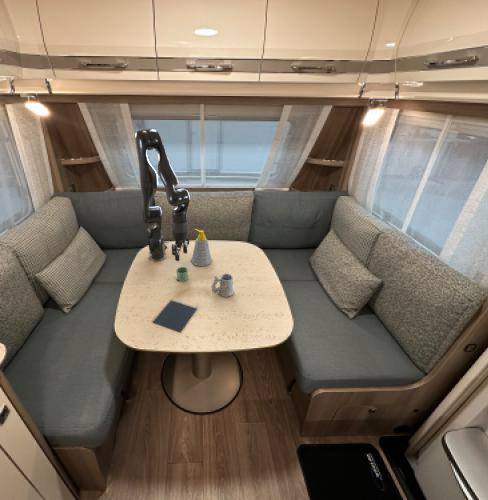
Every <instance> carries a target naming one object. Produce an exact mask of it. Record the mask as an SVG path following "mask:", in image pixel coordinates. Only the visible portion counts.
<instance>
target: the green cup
mask: <svg viewBox="0 0 488 500" xmlns="http://www.w3.org/2000/svg"><path fill="white" fill-rule="evenodd" d="M175 272H176V279H177V280H178V281H179V282H185V281H187V280H188V279H189V269H188V268H187V267H186V266H180V267H179V266H178V267H177V268H176V271H175Z"/></svg>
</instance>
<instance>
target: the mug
mask: <svg viewBox="0 0 488 500" xmlns="http://www.w3.org/2000/svg"><path fill="white" fill-rule="evenodd" d="M218 282H219V286H218V287H217V288H216V285H218ZM211 291H212V293H213V294H214V295H216V293H219V295H220V296H221V297H224V298H228V297H231V296H232V295H233V293H234V276H233V275H232V274H231V273H223V274H221V275H220V277H218V276H217V274H216V275H214V279H213V281H212V284H211Z"/></svg>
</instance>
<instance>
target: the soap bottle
mask: <svg viewBox="0 0 488 500" xmlns="http://www.w3.org/2000/svg"><path fill="white" fill-rule="evenodd" d="M194 231H195V232H198V233H199V234H197V237H196V238H195V242H194V247H193V252H192V257H191V263H192V264H193V265H195V266H196V267H197V266H198V267H206V266H208V265H210V264H211V263H212V255H211V250H210V245H209V241H208V238H207V237H206V234H205V231H204V230H201V229H197V228H194Z"/></svg>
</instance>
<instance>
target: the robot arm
mask: <svg viewBox="0 0 488 500" xmlns="http://www.w3.org/2000/svg"><path fill="white" fill-rule="evenodd" d="M134 143H135V149H136V154H137V155H136V156H137V160H138V169H139V182H140V183H139V184H140V185H139V186H140V192H141V193H140V194H141V209H142V210H141V211H142V212H141V213H142V220H143V222H144V223H145V224H146V225H147V224H148V225H149V224H151V225H149V226H148V227H147V228H146V235H147V241H148V242H147V244H148V255H149V259H150V260H151V261H154V262H160V261H162V260H164V259H165V258H166V249H167V248H168V246H167V245H165V242H167V241H171V239H170V238H167V239H164V231H163V230H164V229H163V212H162V208H161V206H158V205H157V206H150V205H151V202H152V199H153V198H154V196H155V195H156V193H157V191H158V188H159V178H160V181H161V182H162V184H163V186H164V191H165V195H166V200H167V202H168V204H169V205H170V206H172V207H176V208H174V209H173V210H172V212H171V217H172V227H171V228H172V238H173V240H175V241H174V242H175V243H172V244H171V255H172V256H174V260H175V261H176V262H179V261H181V259H180V253H181V251H182V253H183V254H185V255H186V254H188V247H189V245H190V234H189V230H188V216H187V215H188V214H187V213H188V209H189V205H190V200H191V198H190V193H189V191H188V190H187V189H185V188H180V189H176V190H175V187H176V186H178V184H179V180H178V176H177V175H176V173H175V171H174V169H173V168H172V166H171V163H170V160H169V158H168V154H167V152H166V149H165V145H164V143H163V140H162V137H161V135H160V133H159V131H158V130H157V129H156V128H144V129H139V130H136V132H135V135H134ZM153 150H155V152H156V154H157V157H158V159H157V171H156V170H155V168H154V167H153V166H152V164H151V162H150V161H149V158H148V151H153Z"/></svg>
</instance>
